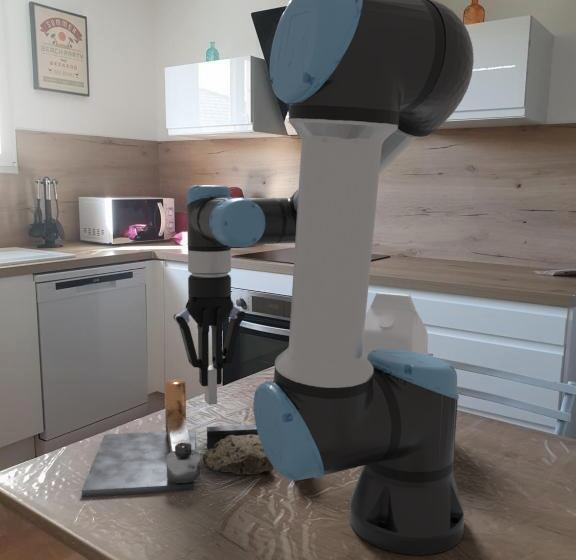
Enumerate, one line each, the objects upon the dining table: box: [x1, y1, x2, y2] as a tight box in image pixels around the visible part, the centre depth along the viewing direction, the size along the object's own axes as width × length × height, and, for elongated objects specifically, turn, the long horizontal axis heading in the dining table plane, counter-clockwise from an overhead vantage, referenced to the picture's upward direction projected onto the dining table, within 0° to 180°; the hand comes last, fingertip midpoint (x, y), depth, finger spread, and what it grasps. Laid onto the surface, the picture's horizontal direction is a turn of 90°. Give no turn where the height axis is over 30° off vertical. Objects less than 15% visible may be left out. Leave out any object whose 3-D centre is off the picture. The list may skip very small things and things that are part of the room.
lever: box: [164, 378, 201, 483], centre depth 96 cm, size 21×5×9 cm, turn 14°
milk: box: [362, 291, 429, 358], centre depth 108 cm, size 12×12×26 cm
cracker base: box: [81, 424, 258, 498], centre depth 97 cm, size 20×34×7 cm, turn 98°
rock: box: [202, 435, 274, 476], centre depth 96 cm, size 11×11×4 cm
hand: (210, 401), depth 107 cm, fingers closed
